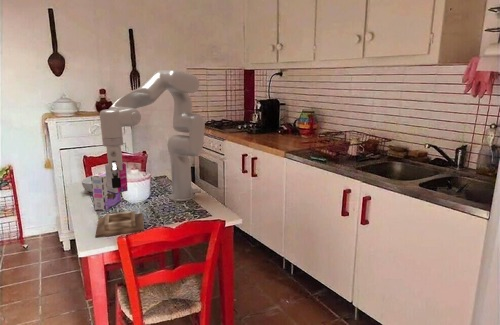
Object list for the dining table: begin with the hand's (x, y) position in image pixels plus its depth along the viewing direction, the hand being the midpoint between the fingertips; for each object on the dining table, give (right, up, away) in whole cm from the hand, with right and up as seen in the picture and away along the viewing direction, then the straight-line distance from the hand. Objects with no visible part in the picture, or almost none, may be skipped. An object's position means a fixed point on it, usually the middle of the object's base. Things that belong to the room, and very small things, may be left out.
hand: (117, 184), depth 148 cm
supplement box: (0, -3, +1) cm, 3 cm away
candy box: (-14, -12, +27) cm, 33 cm away
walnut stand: (0, -17, +4) cm, 18 cm away
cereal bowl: (-26, -7, +49) cm, 56 cm away
